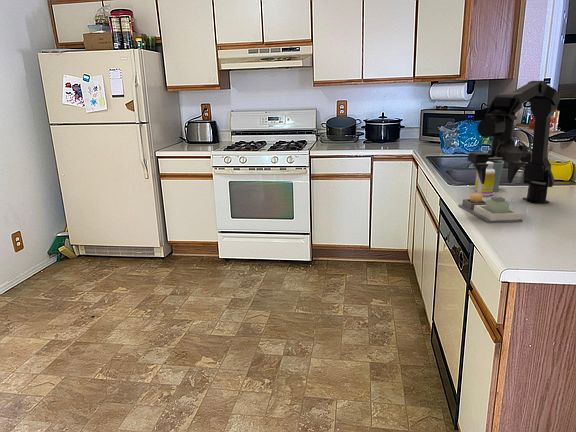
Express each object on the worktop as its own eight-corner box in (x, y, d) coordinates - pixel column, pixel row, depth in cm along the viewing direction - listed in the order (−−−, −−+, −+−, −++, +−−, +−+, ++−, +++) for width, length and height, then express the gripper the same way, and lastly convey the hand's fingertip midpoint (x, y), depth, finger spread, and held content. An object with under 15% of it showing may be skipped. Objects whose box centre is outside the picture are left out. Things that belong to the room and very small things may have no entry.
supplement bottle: (495, 194, 175) (500, 162, 171) (485, 197, 171) (490, 164, 167) (480, 191, 180) (484, 160, 176) (470, 193, 176) (474, 161, 173)
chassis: (458, 206, 158) (459, 198, 158) (488, 205, 160) (489, 197, 159) (487, 222, 139) (488, 214, 139) (522, 221, 140) (523, 213, 140)
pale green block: (484, 212, 148) (486, 196, 147) (497, 212, 149) (499, 195, 147) (494, 217, 142) (496, 200, 141) (507, 217, 143) (510, 200, 141)
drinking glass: (493, 186, 189) (496, 158, 185) (505, 192, 179) (509, 162, 176) (469, 186, 188) (472, 158, 185) (480, 192, 179) (484, 162, 175)
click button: (467, 201, 156) (468, 193, 155) (477, 201, 157) (478, 192, 156) (472, 204, 152) (473, 196, 151) (483, 204, 153) (484, 195, 152)
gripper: (488, 138, 131) (481, 190, 136) (546, 137, 133) (538, 188, 138) (469, 134, 142) (464, 182, 146) (524, 133, 144) (517, 180, 148)
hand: (496, 183), depth 144 cm, fingers open, 9 cm apart
